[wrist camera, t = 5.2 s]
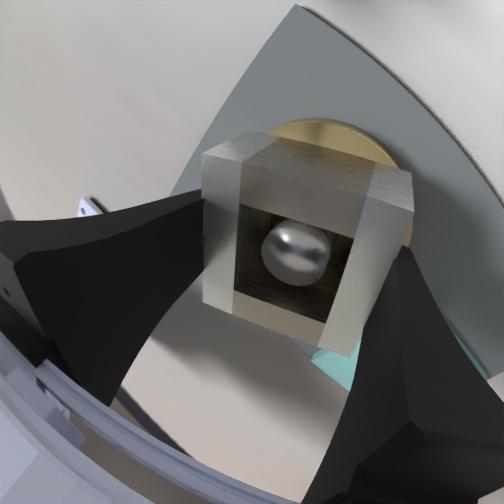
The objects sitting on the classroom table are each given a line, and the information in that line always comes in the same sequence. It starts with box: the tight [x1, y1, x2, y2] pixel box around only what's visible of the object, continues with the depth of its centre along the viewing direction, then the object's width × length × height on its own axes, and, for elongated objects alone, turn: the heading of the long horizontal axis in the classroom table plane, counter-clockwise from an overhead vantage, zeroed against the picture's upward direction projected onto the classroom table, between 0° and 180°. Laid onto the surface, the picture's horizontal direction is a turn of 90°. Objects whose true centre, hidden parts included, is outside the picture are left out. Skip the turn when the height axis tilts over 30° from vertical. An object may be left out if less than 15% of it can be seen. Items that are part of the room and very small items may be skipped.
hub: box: [261, 118, 413, 286], centre depth 11 cm, size 7×7×4 cm
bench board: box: [169, 4, 504, 379], centre depth 13 cm, size 12×18×1 cm
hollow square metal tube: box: [201, 130, 414, 358], centre depth 10 cm, size 6×6×3 cm
